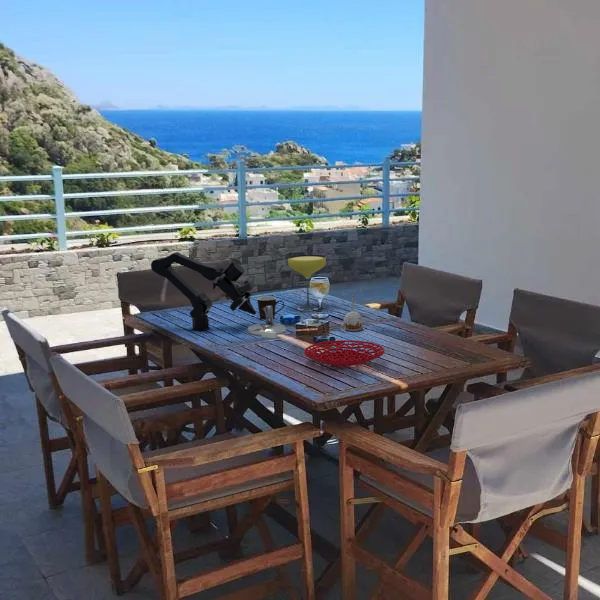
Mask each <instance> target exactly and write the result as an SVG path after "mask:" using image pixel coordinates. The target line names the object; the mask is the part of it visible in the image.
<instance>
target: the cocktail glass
mask: <svg viewBox="0 0 600 600" xmlns="http://www.w3.org/2000/svg"><path fill="white" fill-rule="evenodd" d="M326 259H327V258H326V256H324V255H322V254H321V255H319V254H300V255H293V256H289V257H288V258H287V265H288V267H289V268H290V269H291V270H293V271H294V272H297V273H300V274H301V275H302V276H303V277H304V278H305V279H306V305H302V306H299V308H300V309H304V310H310V309H314V308H316V305H311V304H310V295H309V294H310V293H309V279H310V278H311V276H312V275H313V274H315V273H316V272H318V271H320V270H321V269H323V268H324V267H325V266H326V265H327V264H326V263H327V260H326Z"/></svg>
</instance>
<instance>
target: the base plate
mask: <svg viewBox="0 0 600 600" xmlns="http://www.w3.org/2000/svg"><path fill="white" fill-rule="evenodd" d="M261 334H262V336H261V338H265V339H277V335H276V332H271V331H270V330H267V331H262V332H261ZM249 335H251V334H249V333H248V334H244V335H243V336H249Z"/></svg>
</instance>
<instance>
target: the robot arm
mask: <svg viewBox="0 0 600 600" xmlns="http://www.w3.org/2000/svg"><path fill="white" fill-rule="evenodd" d="M174 263H175V264H178V265H180V266H183V267H185V268H187V269H190V270H193V271H195V272H197V273H199V274H200V275H201V276H202V277H203V278H205V279H207V280H208V281H211V282H212V281H213V282H212V289H213V290H215V289H217V288H218V289H220V290H221V291H222V293H223V294H224V295H225V297H226V298H229V299H230V301H232V303H231V304H230V305H229V309H230V310H231V311H232V312H235V311H236V309H237V310H239V311H243V312H245V313H248V314H251V315H256V314H257V311H256V309H255V307H254V306H253V305H252V303H251V296H252V295H253V292H252V290H253V289H255V288H254V286H253V285H254V284H253V283H254V282H252V281H249V280H248V279H247V280H244V282H243V284H242V285H241V286H239V285H238V284H236V285H235V283H234V282H236V283H237V281H238V280H239V279H240V278H241V277H242V276H243V275H244V273H245V271H246V270H245V268H243V266H242V265H239V263H236V262H235V261H232V262H231V263H230V264H229V265H228V267H227V268H223V267H220V266H219V265H217V264H212V263H205V262H201V261H198V260H196V259H193V258H192V257H189V256H187V255H184V254H182V253H181V252H178V251H177V252H176V251H175V252H174V253H171V254H170V255H168V256H166V257H160V258H159V257H158V258H155V259H154V260H152V261H151V263H150V269H151V270H152V272H154V273H155V274H157V275H158V276H160V277H163V278H165V279H167V280H168V281H169V282H170V283H171V284H172V285H173V286H174V287H175V288H176V289H177V290H178V291H179V292H180V293H181V294H182V295H183V296H184V297H186V298H187V299H188V300H189V301H190V305H191V307H192V309H191V310H190V312H189V316H190V317H191V322H192V327H191V328H190V330H191V329H193V330H192V331H197V330H198V332H199V331H200V332H203V331H206V330H209V329H211V326H210V325H209V324H210V323H209V317H208V316H209V315H208V314H209V311H210V310H211V309H212V307H213V301H212V300H211V297H210V296H208V295H207V294H206V293H205V292H201V293H199V292H197V291H196V290H195V289H194V288H193V287H192V286H190V284H189V283H187V282H186V280H185V279H183V278H182V276H180V275H179V274H178V273H177V272H176V271H174V268H173V266H172V265H173V264H174ZM214 280H217V281H214Z"/></svg>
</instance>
